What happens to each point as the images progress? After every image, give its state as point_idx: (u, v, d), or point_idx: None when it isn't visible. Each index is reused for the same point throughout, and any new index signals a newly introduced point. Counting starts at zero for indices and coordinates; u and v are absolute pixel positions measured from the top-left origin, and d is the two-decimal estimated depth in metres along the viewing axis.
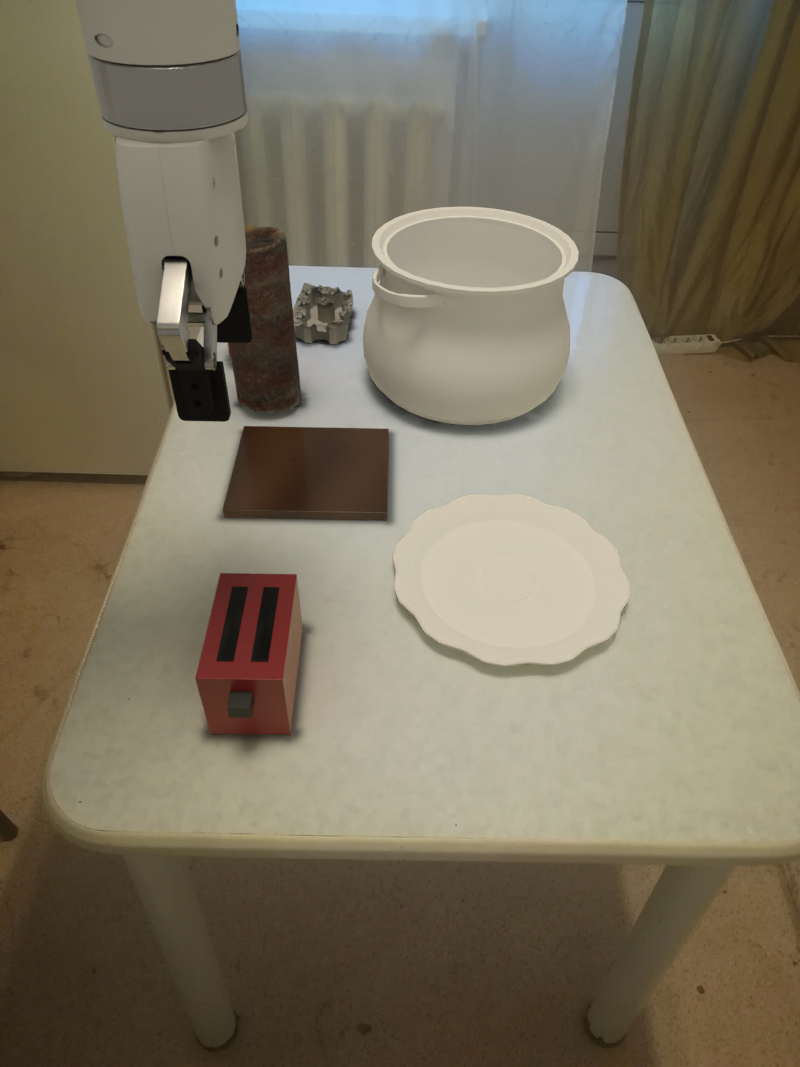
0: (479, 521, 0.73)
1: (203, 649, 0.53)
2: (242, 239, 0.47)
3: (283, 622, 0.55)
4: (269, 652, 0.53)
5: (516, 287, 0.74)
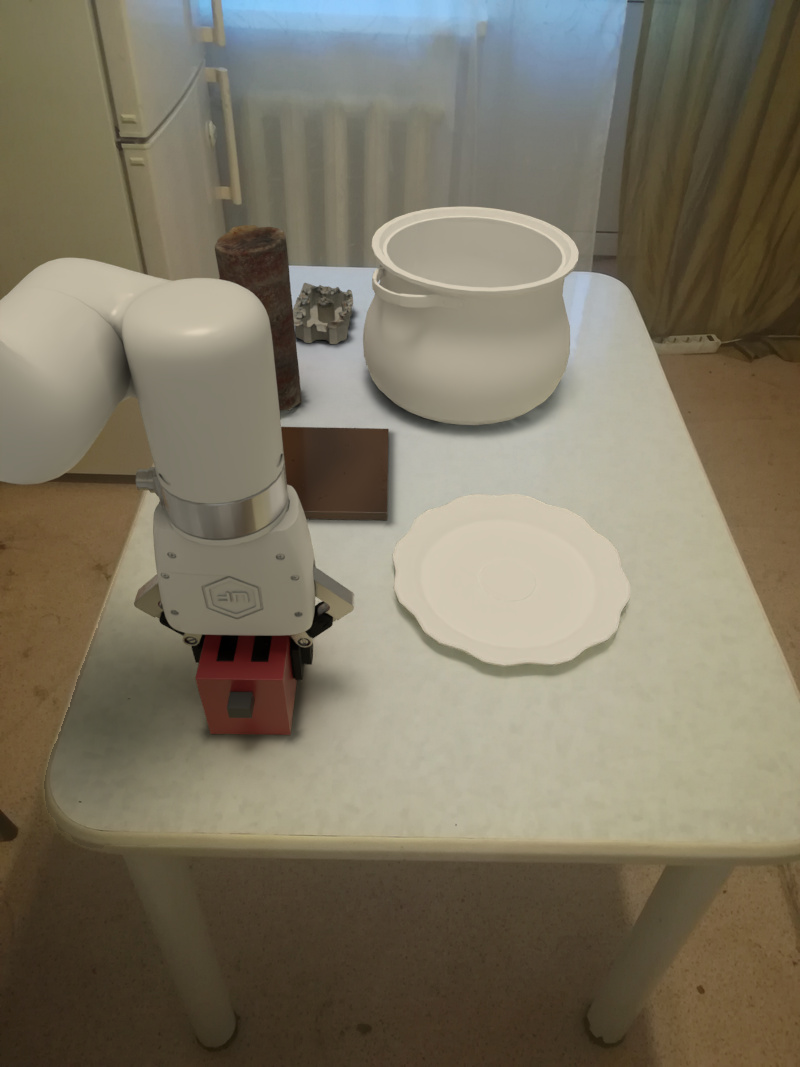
0: (479, 521, 0.73)
1: (203, 649, 0.53)
2: None
3: None
4: (269, 652, 0.53)
5: (516, 287, 0.74)
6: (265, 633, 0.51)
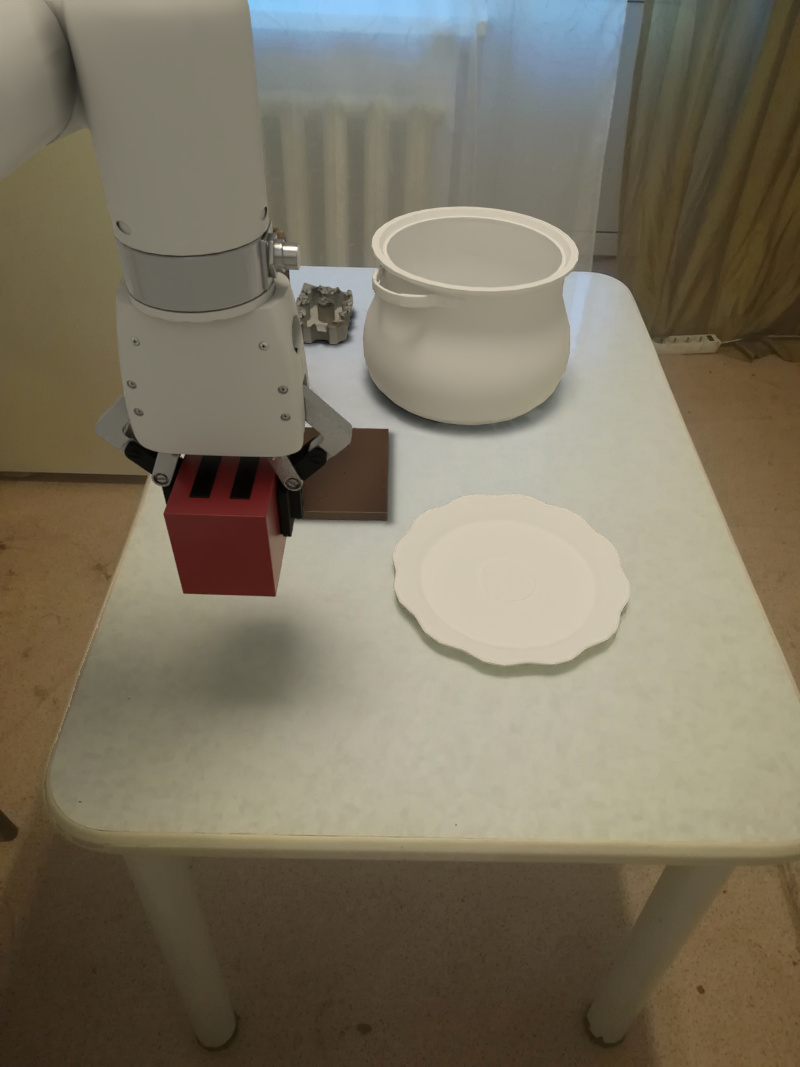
0: (479, 521, 0.73)
1: None
2: (252, 427, 0.43)
3: (190, 461, 0.47)
4: None
5: (516, 287, 0.74)
6: None
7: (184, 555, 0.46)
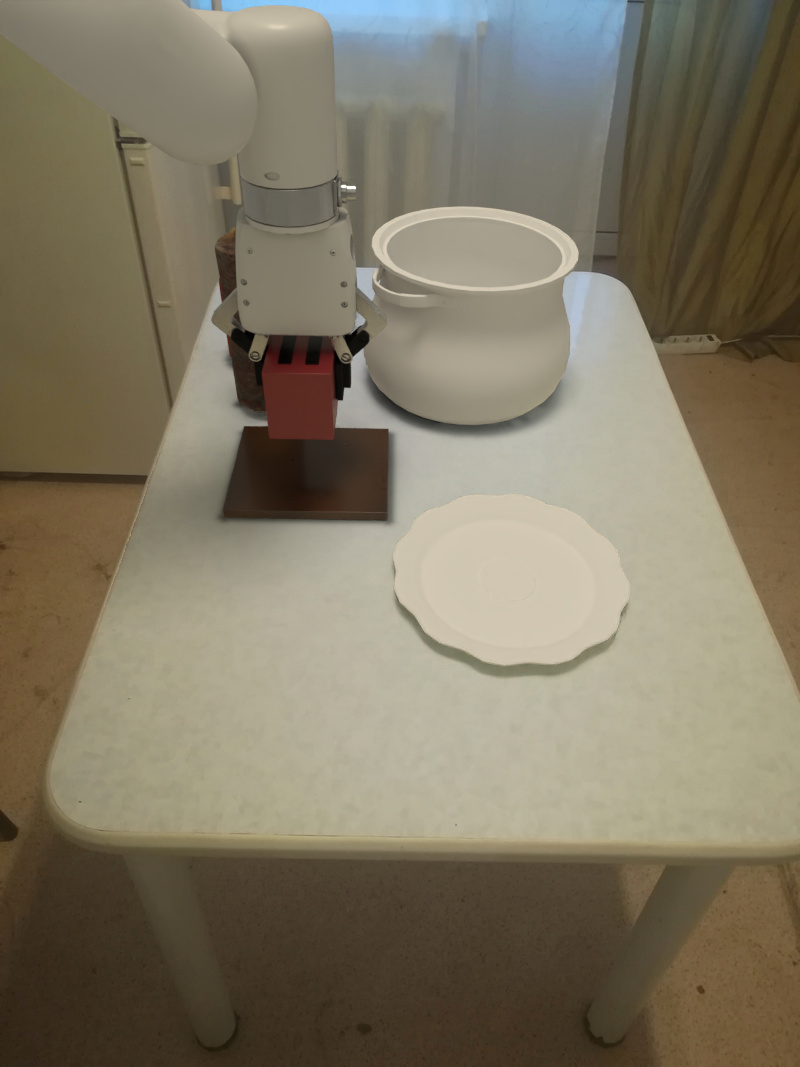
0: (479, 521, 0.73)
1: None
2: (322, 312, 0.64)
3: (274, 344, 0.68)
4: None
5: (516, 287, 0.74)
6: None
7: (273, 406, 0.67)
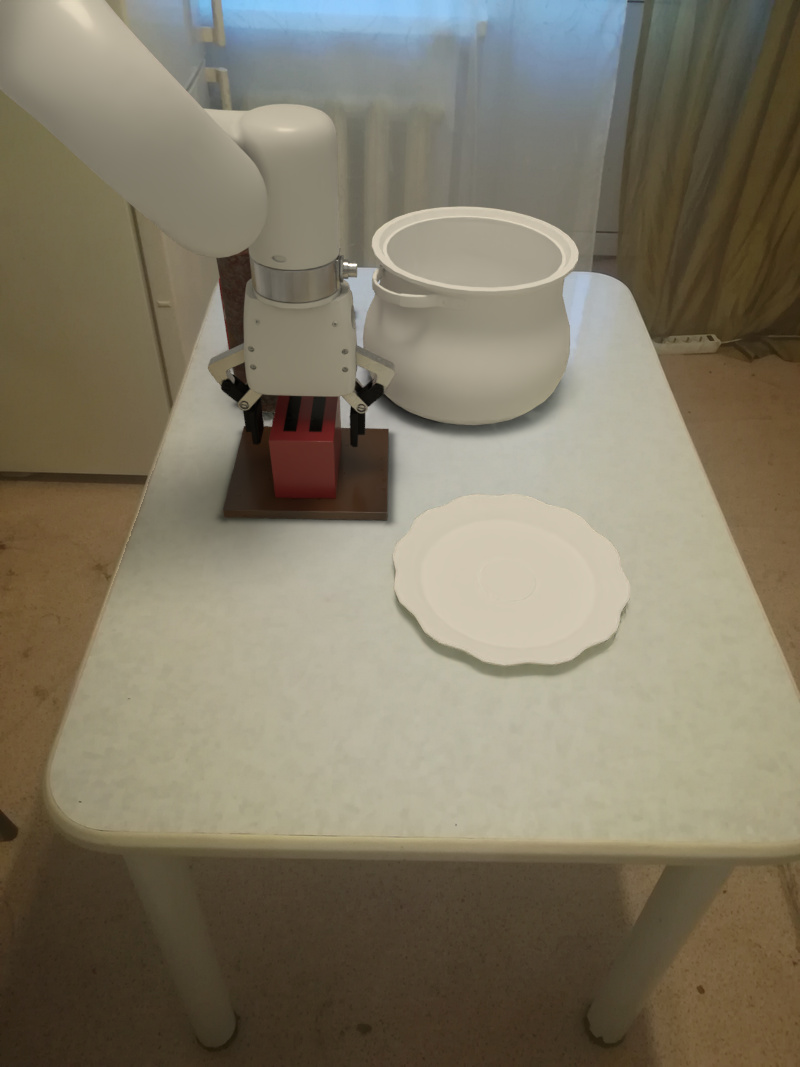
0: (479, 521, 0.73)
1: None
2: (324, 376, 0.68)
3: (280, 410, 0.73)
4: None
5: (516, 287, 0.74)
6: None
7: (279, 469, 0.72)
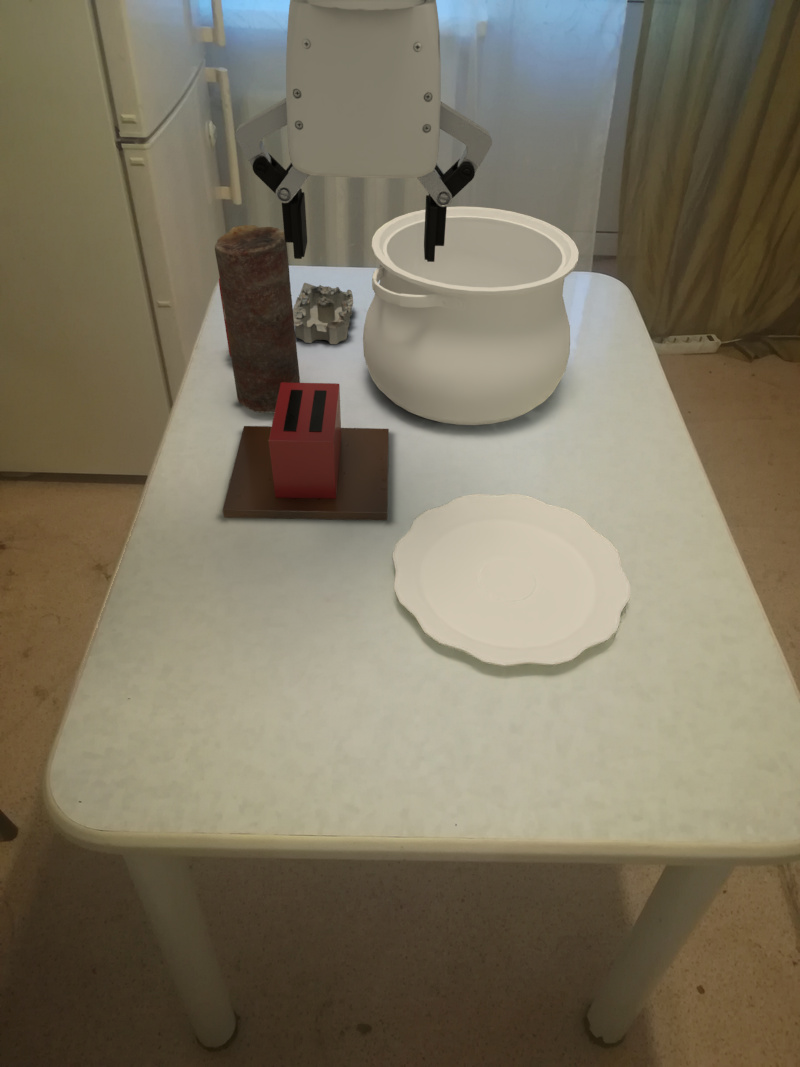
0: (479, 520, 0.73)
1: (336, 396, 0.75)
2: (397, 140, 0.49)
3: (280, 410, 0.73)
4: (290, 395, 0.75)
5: (516, 287, 0.74)
6: None
7: (279, 469, 0.72)
